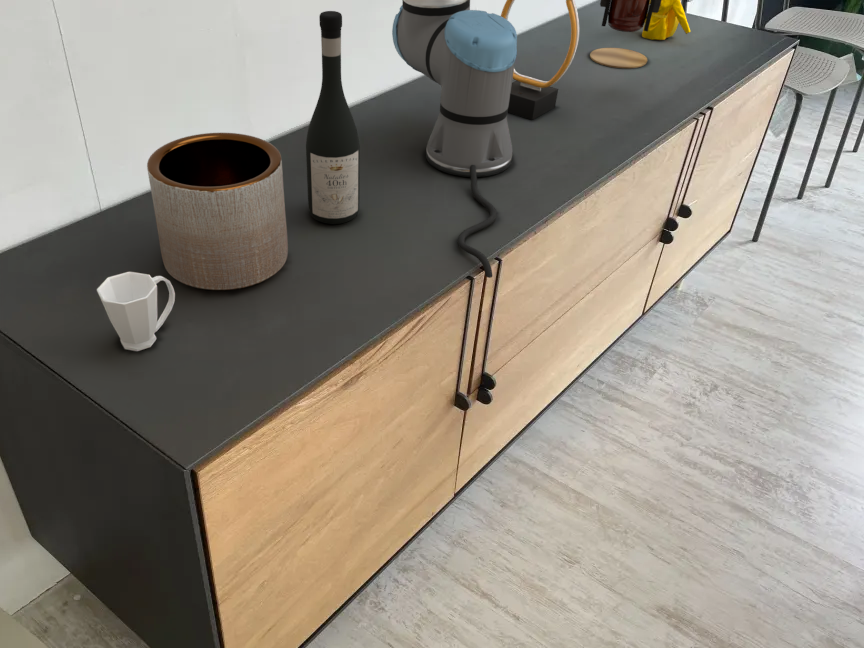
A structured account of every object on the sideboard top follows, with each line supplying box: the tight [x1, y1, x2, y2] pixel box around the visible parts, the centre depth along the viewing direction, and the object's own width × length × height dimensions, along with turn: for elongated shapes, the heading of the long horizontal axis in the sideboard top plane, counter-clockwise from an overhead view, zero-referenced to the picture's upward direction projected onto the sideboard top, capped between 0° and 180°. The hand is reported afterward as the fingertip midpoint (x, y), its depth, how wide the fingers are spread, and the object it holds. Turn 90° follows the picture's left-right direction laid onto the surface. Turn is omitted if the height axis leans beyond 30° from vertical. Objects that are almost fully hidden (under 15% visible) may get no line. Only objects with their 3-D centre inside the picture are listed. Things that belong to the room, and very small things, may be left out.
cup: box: [96, 271, 176, 352], centre depth 96 cm, size 7×10×8 cm
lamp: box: [500, 0, 580, 121], centre depth 148 cm, size 17×9×32 cm, turn 50°
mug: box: [607, 0, 650, 33], centre depth 152 cm, size 12×9×10 cm
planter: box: [146, 132, 289, 292], centre depth 107 cm, size 18×18×16 cm
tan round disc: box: [589, 47, 648, 69], centre depth 181 cm, size 13×13×1 cm
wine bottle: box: [305, 10, 361, 225], centre depth 114 cm, size 8×8×30 cm
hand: (624, 26), depth 155 cm, fingers closed on mug, 7 cm apart
